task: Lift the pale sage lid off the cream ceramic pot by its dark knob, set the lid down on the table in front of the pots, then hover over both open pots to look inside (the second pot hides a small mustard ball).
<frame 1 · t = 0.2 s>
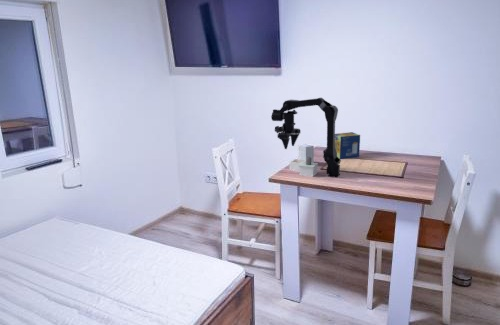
hand: (289, 147, 223), 14 cm above the table, tool pointing down, fingers open, 9 cm apart
small box: (305, 165, 236), on the table
protein box: (345, 156, 255), on the table
ball: (298, 169, 225), point 1 cm above the table, touching pot b
pot a: (308, 175, 215), on the table
lid: (308, 165, 213), point 6 cm above the table, touching pot a
pot b: (298, 170, 225), on the table
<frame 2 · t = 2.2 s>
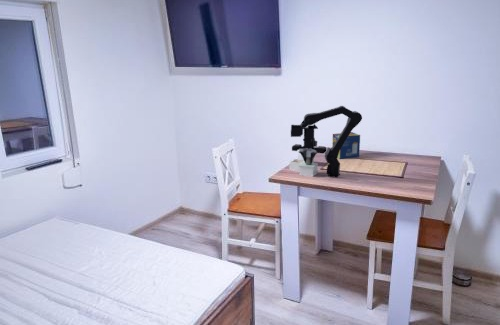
hand: (308, 163, 213), 7 cm above the table, tool pointing down, fingers closed on lid, 3 cm apart
lid: (308, 165, 213), point 6 cm above the table, touching gripper, pot a
everything else where it was.
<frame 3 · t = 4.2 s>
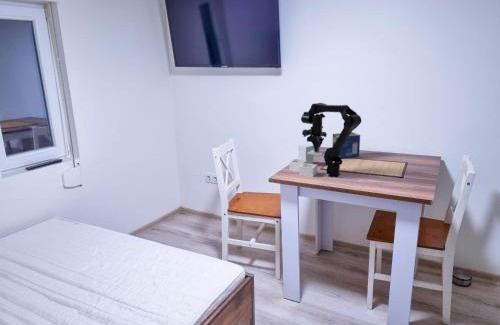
hand: (316, 150, 221), 12 cm above the table, tool pointing down, fingers closed on lid, 3 cm apart
lid: (316, 153, 221), point 11 cm above the table, touching gripper
everything else where it was.
when the fingers open (3 cm above the table, at t = 6.1 s): lid drops 2 cm, on the table.
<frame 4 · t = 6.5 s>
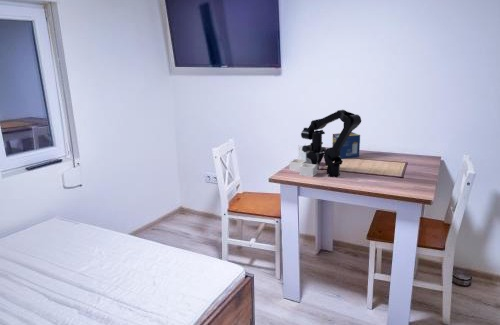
hand: (316, 166, 223), 3 cm above the table, tool pointing down, fingers open, 8 cm apart
lid: (316, 171, 224), on the table
everything else where it was.
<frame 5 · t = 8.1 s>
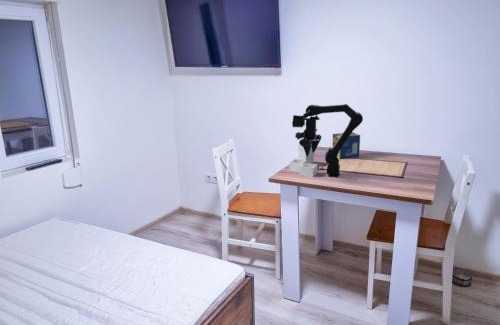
hand: (310, 154, 214), 12 cm above the table, tool pointing down, fingers open, 9 cm apart
nothing on the table moved.
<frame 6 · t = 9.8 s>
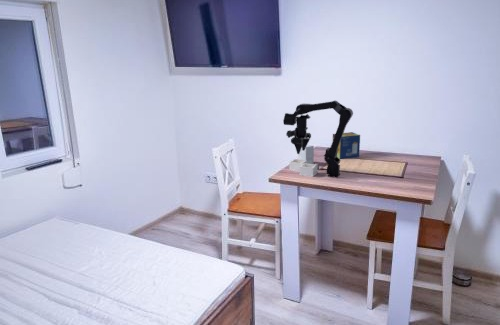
hand: (300, 152, 219), 12 cm above the table, tool pointing down, fingers open, 9 cm apart
nothing on the table moved.
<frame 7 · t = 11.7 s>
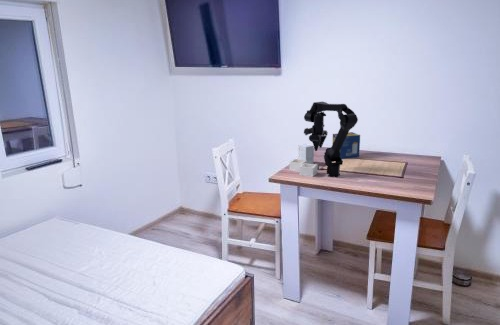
hand: (318, 149, 222), 13 cm above the table, tool pointing down, fingers open, 9 cm apart
nothing on the table moved.
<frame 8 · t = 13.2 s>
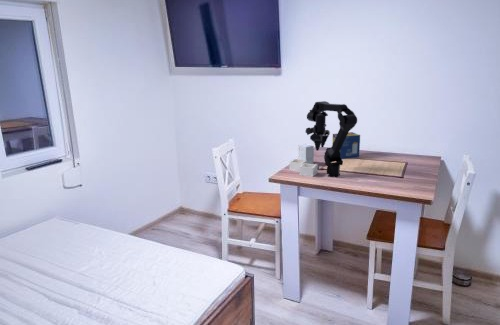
hand: (319, 148, 223), 13 cm above the table, tool pointing down, fingers open, 9 cm apart
nothing on the table moved.
at the end: lid inside the target area (0.2 cm from its centre), on the table; lid touching table; lid tilted 1° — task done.
